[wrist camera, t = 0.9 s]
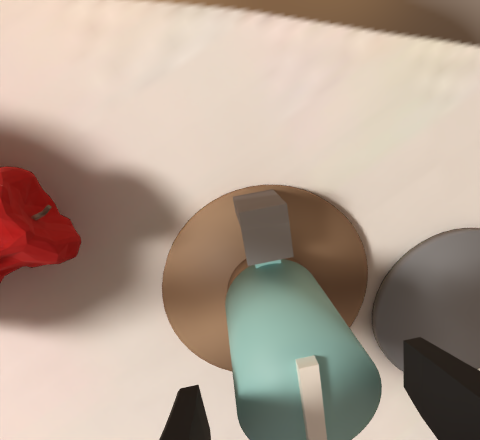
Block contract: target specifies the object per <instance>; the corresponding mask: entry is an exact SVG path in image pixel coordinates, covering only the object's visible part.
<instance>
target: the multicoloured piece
mask: <svg viewBox="0 0 480 440" xmlns="http://www.w3.org/2000/svg"><path fill="white" fill-rule="evenodd" d="M80 244H81V239H80V236H79V235H78V233H77V232H76V230H75V229H74V227H73V225H72V223H71V221H70V219H69V218H66V217H64V216H62V215H60V213H59V211H58V209H57V207H56V205H55V203H54V202H53V201H52V199H51V198H50V196H49V195H47V194H46V193H45V192H44V190H43V189H42V188H41V186H40V184H39V182H38V180H37V178H36V177H35V175H34V174H33V173H32V172H30V171H27V170H24V169H21V168H18V167H7V166H5V167H0V283H1V281H2V280H3V278H4V276H5V275H7V274H9V273H11V272H13V271H15V270H17V269H19V268H21V267H24V266H28V267H31V268H33V267H37V266H42V265H47V264H60V263H62V262H65V261H67V260H70V259H72V258H75V257H76V256H77V254H78V251H79V248H80Z"/></svg>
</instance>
